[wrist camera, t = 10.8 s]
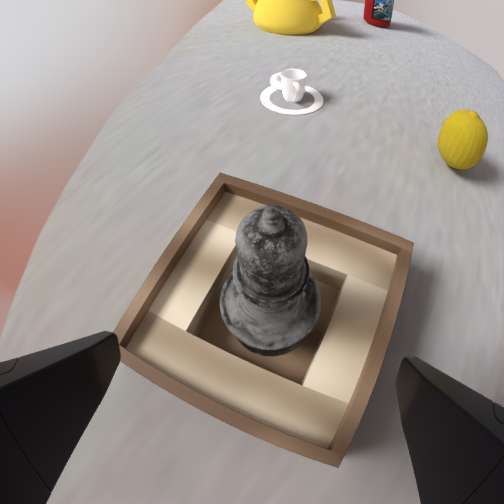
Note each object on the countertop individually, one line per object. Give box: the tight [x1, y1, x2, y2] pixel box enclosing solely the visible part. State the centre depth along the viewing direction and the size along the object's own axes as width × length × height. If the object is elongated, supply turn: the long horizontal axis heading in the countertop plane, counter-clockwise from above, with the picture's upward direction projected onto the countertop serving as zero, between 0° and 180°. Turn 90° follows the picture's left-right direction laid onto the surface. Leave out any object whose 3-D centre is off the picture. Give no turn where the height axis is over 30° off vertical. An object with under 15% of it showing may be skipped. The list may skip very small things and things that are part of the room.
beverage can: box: [364, 0, 394, 27], centre depth 49 cm, size 7×7×12 cm
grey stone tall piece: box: [220, 205, 321, 356], centre depth 16 cm, size 6×6×12 cm
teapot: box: [246, 0, 336, 35], centre depth 47 cm, size 20×18×11 cm
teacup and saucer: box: [260, 69, 323, 115], centre depth 34 cm, size 9×8×4 cm
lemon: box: [438, 110, 488, 170], centre depth 26 cm, size 6×6×8 cm
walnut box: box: [113, 173, 414, 468], centre depth 20 cm, size 15×15×4 cm
